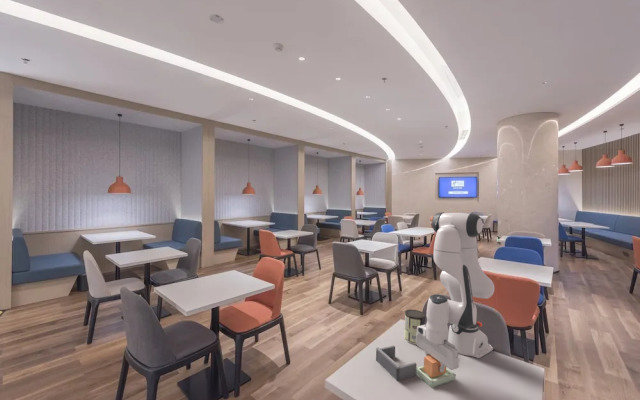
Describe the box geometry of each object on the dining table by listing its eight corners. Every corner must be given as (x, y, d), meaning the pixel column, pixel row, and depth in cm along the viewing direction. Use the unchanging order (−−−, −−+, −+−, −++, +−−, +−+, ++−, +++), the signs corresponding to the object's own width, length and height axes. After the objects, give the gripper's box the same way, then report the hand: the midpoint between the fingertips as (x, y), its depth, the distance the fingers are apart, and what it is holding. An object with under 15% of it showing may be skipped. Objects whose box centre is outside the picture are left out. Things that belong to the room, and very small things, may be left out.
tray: (437, 366, 124) (437, 361, 124) (455, 380, 115) (455, 374, 115) (414, 373, 119) (415, 367, 119) (431, 387, 110) (432, 381, 110)
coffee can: (417, 334, 153) (418, 308, 153) (428, 344, 143) (429, 317, 143) (400, 335, 151) (401, 309, 151) (409, 345, 141) (410, 318, 141)
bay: (393, 355, 131) (394, 343, 131) (416, 375, 118) (416, 361, 117) (375, 360, 127) (376, 347, 127) (396, 380, 114) (397, 367, 113)
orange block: (438, 366, 121) (438, 353, 121) (446, 373, 117) (447, 359, 117) (423, 370, 118) (424, 356, 117) (431, 377, 113) (432, 363, 113)
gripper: (463, 346, 108) (461, 380, 109) (424, 323, 127) (423, 352, 128) (451, 349, 106) (450, 384, 106) (414, 325, 125) (412, 355, 125)
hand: (435, 367), depth 117 cm, fingers closed on orange block, 4 cm apart
